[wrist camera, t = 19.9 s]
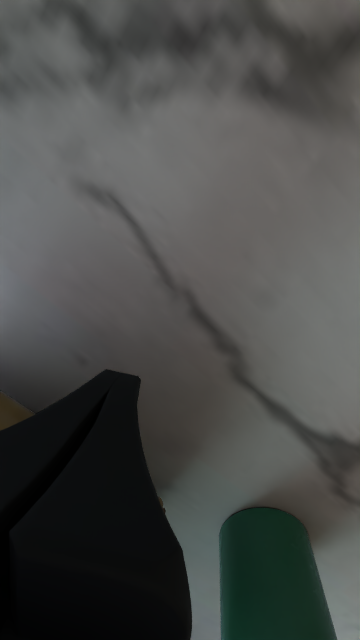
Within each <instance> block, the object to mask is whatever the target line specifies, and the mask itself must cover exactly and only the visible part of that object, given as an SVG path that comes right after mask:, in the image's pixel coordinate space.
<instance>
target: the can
mask: <svg viewBox="0 0 360 640" xmlns="http://www.w3.org/2000/svg"><path fill="white" fill-rule="evenodd" d="M219 557H220V613H221V640H337V637H336V633H335V630H334V626H333V622H332V619H331V615H330V612H329V608H328V605H327V601H326V597H325V594H324V590H323V587H322V583H321V580H320V576H319V572H318V569H317V565H316V562H315V558H314V554H313V551H312V547H311V544H310V540H309V537H308V533H307V531H306V529H305V527H304V526H303V524H302V523H301V522H300V521H299V520H298V519H297V518H295V517H294V516H292V515H290V514H288V513H286V512H284V511H281V510H277V509H272V508H251V509H247V510H243V511H240V512H238V513H236V514H234V515H232V516H231V517H230V518H228V519H227V520H226V521H225V523H224V524H223V525H222V527H221V530H220V533H219Z"/></svg>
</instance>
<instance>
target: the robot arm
mask: <svg viewBox="0 0 360 640" xmlns="http://www.w3.org/2000/svg"><path fill="white" fill-rule="evenodd" d="M140 383H141V379H140V378H139V376H135V375H130V374H126V373H121V372H116V371H112V370H107V369H106V370H104V371H102V372H101V373H99V374H98V375H97V376H95V377H94V378H92V379H91V380H89V381H88V382H87V383H85V384H84V385H82V386H81V387H79V388H78V389H76V390H75V391H73V392H72V393H70V394H69V395H67V396H66V397H64V398H63V399H61V400H59V401H58V402H56V403H54V404H53V405H51V406H49V407H47V408H46V409H44V410H42V411H41V412H39V413H37V414H35V415H33V416H31V417H29V418H27V419H25V420H23V421H21V422H19V423H16V424H14V425H12V426H10V427H8V428H5V429H3V430H1V431H0V640H190V638H191V631H192V610H191V598H190V590H189V583H188V577H187V571H186V566H185V561H184V556H183V550H182V548H181V546H180V544H179V542H178V540H177V538H176V536H175V534H174V532H173V530H172V528H171V526H170V524H169V522H168V520H167V518H166V515H165V513H164V511H163V508H162V506H161V504H160V501H159V499H158V496H157V493H156V491H155V488H154V485H153V482H152V479H151V477H150V474H149V470H148V467H147V464H146V460H145V456H144V452H143V448H142V443H141V438H140V431H139V424H138V413H137V401H138V395H139V389H140Z"/></svg>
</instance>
